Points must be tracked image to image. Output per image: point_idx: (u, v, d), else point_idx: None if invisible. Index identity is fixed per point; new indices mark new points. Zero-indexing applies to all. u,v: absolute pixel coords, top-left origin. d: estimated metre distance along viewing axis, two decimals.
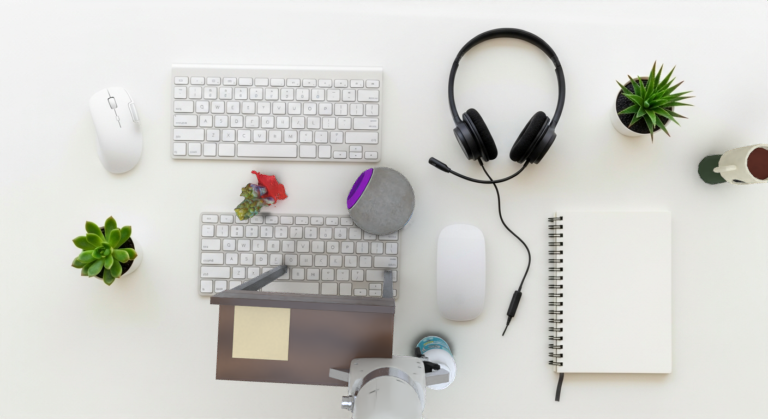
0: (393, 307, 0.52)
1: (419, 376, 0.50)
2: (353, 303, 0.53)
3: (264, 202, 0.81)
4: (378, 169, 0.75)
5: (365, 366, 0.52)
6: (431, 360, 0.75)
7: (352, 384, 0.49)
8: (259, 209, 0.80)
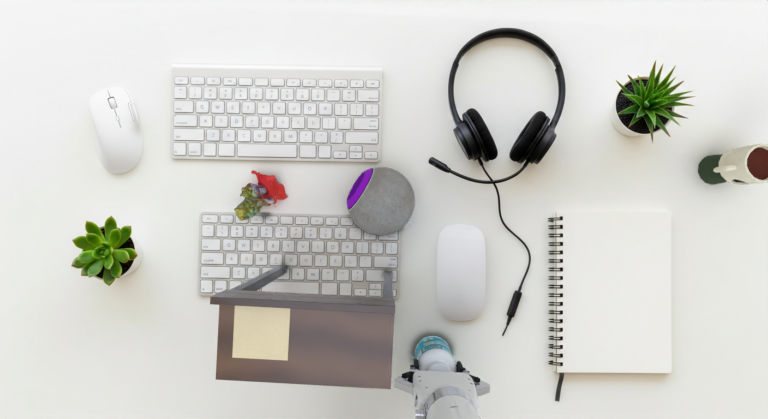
0: (393, 307, 0.52)
1: (473, 392, 0.62)
2: (353, 303, 0.53)
3: (264, 202, 0.81)
4: (378, 169, 0.75)
5: (428, 383, 0.64)
6: (431, 360, 0.75)
7: (421, 399, 0.61)
8: (259, 209, 0.80)
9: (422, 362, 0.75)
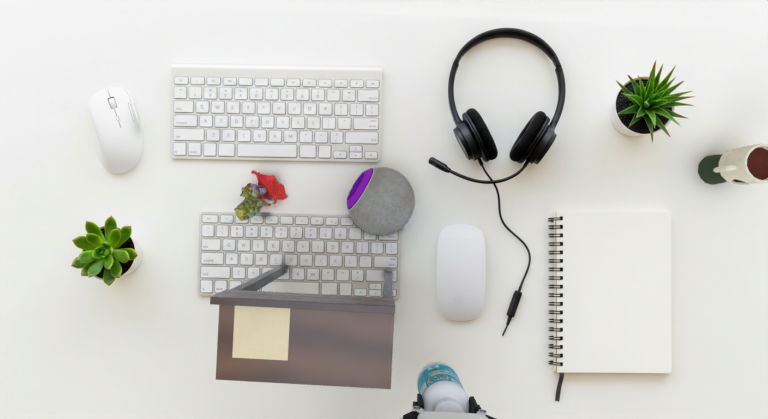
0: (393, 307, 0.52)
1: None
2: (353, 303, 0.53)
3: (264, 202, 0.81)
4: (378, 169, 0.75)
5: None
6: (439, 396, 0.61)
7: None
8: (259, 209, 0.80)
9: (428, 397, 0.62)
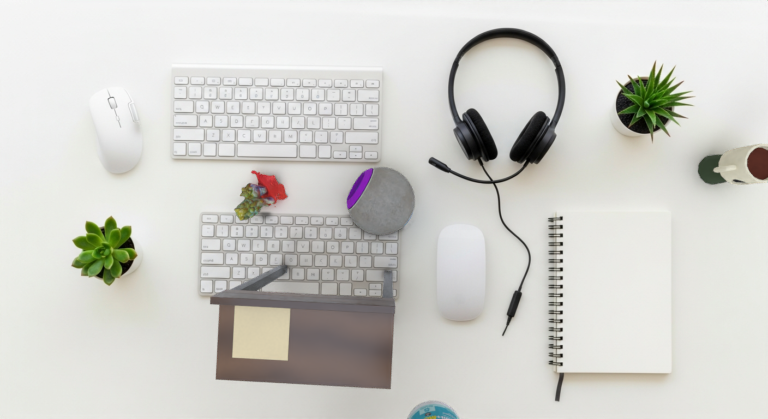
0: (393, 307, 0.52)
1: None
2: (353, 303, 0.53)
3: (264, 202, 0.81)
4: (378, 169, 0.75)
5: None
6: None
7: None
8: (259, 209, 0.80)
9: None
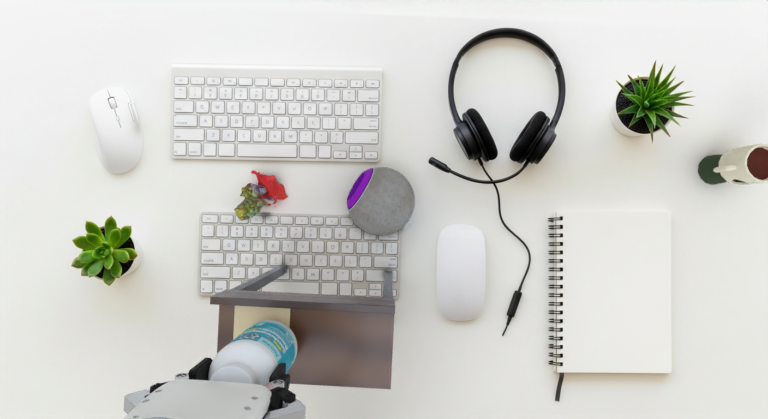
0: (393, 307, 0.52)
1: None
2: (353, 303, 0.53)
3: (264, 202, 0.81)
4: (378, 169, 0.75)
5: (153, 407, 0.32)
6: (228, 360, 0.42)
7: None
8: (259, 209, 0.80)
9: (214, 362, 0.43)
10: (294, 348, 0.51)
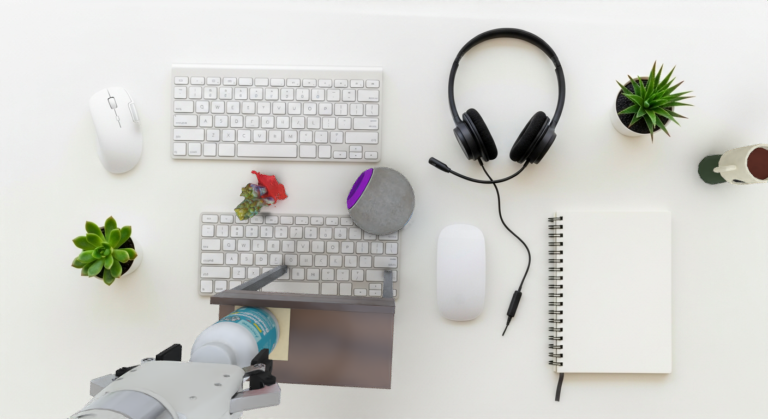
0: (393, 307, 0.52)
1: (197, 402, 0.31)
2: (353, 303, 0.53)
3: (264, 202, 0.81)
4: (378, 169, 0.75)
5: (125, 383, 0.33)
6: (208, 340, 0.44)
7: None
8: (259, 209, 0.80)
9: (195, 343, 0.45)
10: (276, 331, 0.53)
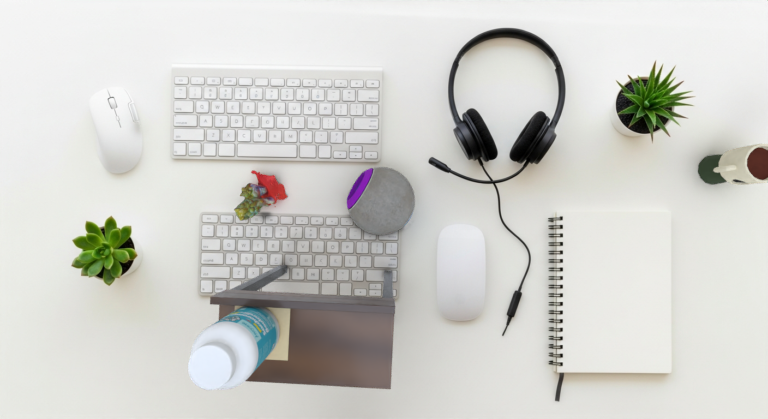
0: (393, 307, 0.52)
1: None
2: (353, 303, 0.53)
3: (264, 202, 0.81)
4: (378, 169, 0.75)
5: None
6: (208, 340, 0.44)
7: None
8: (259, 209, 0.80)
9: (195, 343, 0.45)
10: (276, 331, 0.53)
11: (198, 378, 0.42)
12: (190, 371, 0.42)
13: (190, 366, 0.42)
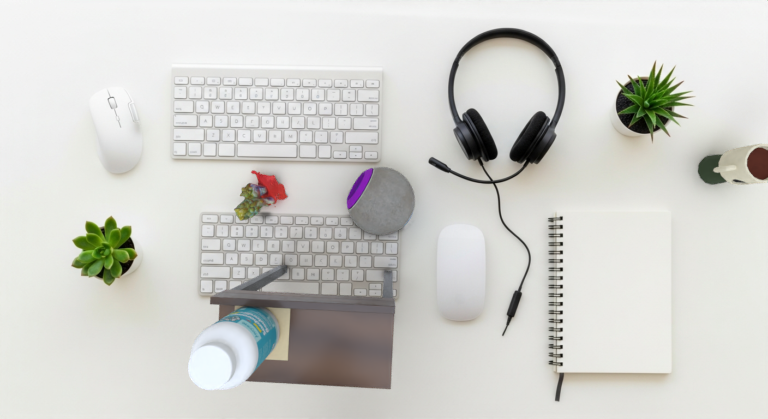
0: (393, 307, 0.52)
1: None
2: (353, 303, 0.53)
3: (264, 202, 0.81)
4: (378, 169, 0.75)
5: None
6: (208, 340, 0.44)
7: None
8: (259, 209, 0.80)
9: (195, 343, 0.45)
10: (276, 331, 0.53)
11: (198, 378, 0.42)
12: (190, 371, 0.42)
13: (190, 366, 0.42)
